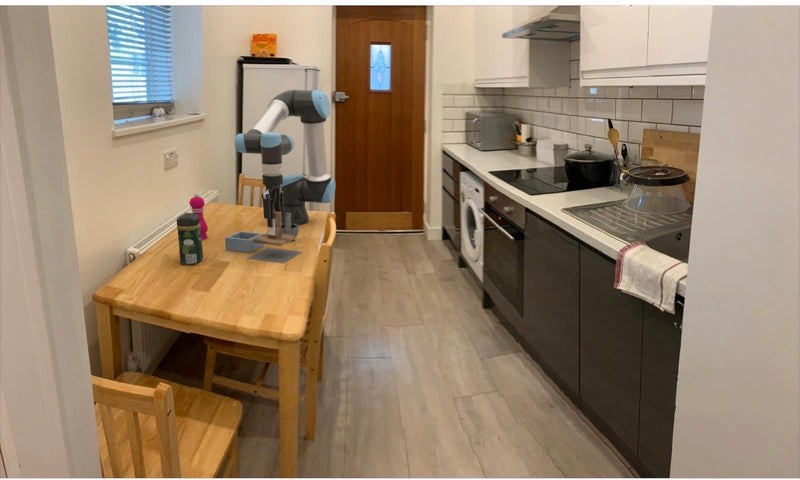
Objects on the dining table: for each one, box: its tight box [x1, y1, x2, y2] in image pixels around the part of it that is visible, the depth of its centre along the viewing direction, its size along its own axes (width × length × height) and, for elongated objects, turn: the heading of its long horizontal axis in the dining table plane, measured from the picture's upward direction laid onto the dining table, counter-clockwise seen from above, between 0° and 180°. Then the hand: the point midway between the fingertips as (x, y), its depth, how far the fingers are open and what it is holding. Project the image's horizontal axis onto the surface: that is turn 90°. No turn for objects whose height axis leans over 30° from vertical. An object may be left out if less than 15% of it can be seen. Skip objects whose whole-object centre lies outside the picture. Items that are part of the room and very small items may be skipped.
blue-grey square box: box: [224, 230, 265, 254], centre depth 222 cm, size 11×11×6 cm
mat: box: [246, 247, 303, 264], centre depth 215 cm, size 16×16×1 cm
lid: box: [254, 211, 297, 247], centre depth 212 cm, size 12×12×11 cm
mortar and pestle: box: [282, 213, 300, 243], centre depth 235 cm, size 11×9×12 cm
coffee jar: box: [176, 212, 204, 266], centre depth 204 cm, size 10×8×19 cm
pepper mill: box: [189, 192, 209, 241], centre depth 234 cm, size 7×7×20 cm
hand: (274, 233), depth 213 cm, fingers closed on lid, 4 cm apart
